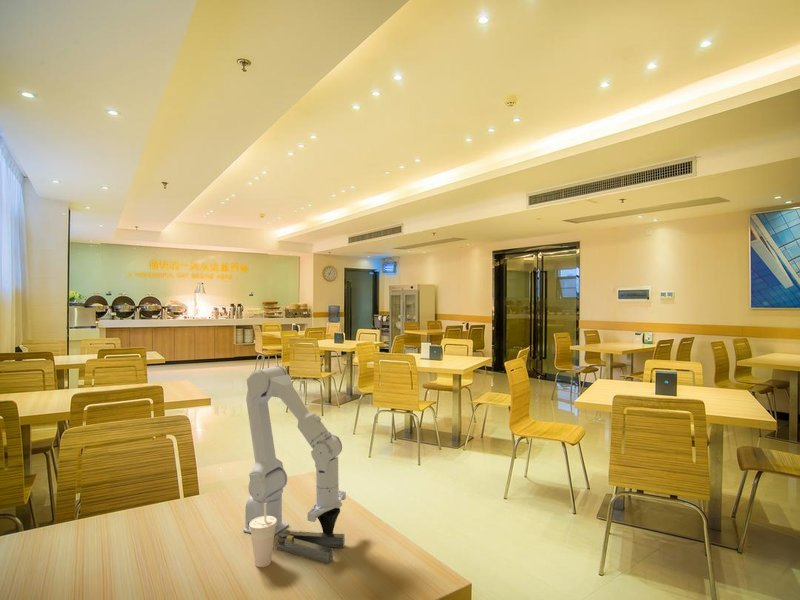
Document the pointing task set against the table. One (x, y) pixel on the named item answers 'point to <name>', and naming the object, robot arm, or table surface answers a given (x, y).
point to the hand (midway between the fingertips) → (327, 537)
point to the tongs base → (305, 549)
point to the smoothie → (263, 538)
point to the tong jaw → (317, 538)
